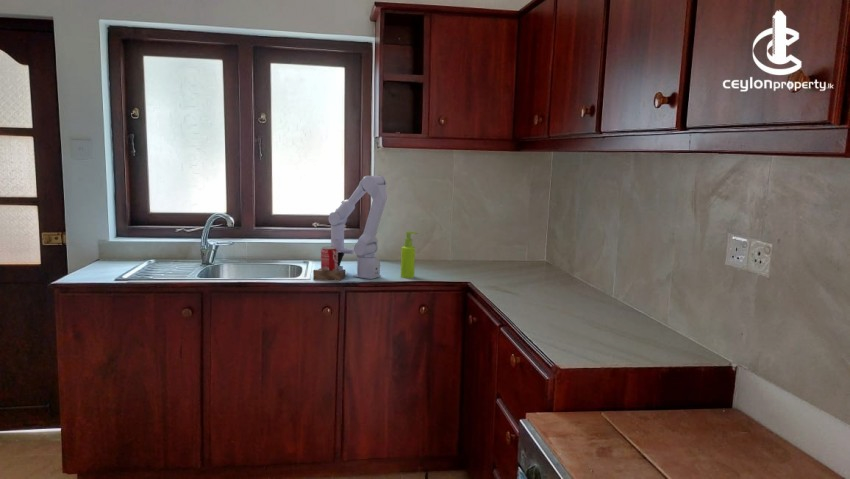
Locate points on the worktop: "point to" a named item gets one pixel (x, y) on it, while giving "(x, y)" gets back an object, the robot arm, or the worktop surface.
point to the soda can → (329, 258)
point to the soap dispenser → (408, 257)
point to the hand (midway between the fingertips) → (337, 269)
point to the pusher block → (340, 268)
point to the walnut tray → (328, 275)
